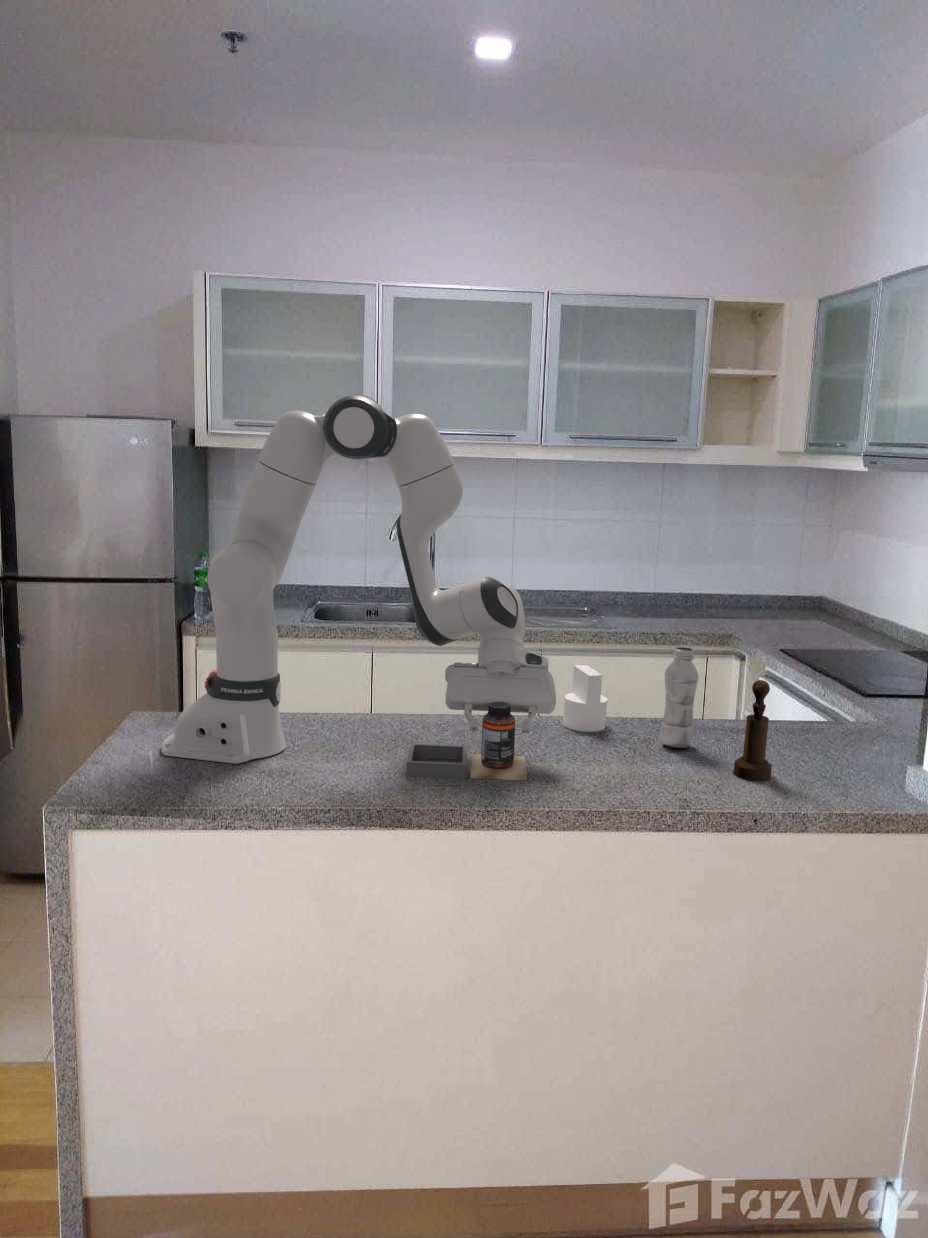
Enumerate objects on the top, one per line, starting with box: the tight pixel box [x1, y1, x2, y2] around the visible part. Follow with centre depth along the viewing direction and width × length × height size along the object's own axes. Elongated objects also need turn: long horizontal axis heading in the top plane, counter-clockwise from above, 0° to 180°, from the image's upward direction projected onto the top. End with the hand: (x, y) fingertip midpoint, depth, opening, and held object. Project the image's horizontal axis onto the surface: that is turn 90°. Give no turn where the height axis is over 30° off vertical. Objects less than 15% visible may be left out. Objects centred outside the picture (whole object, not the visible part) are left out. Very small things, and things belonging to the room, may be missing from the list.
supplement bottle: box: [480, 702, 516, 769], centre depth 172 cm, size 6×6×11 cm
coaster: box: [469, 753, 528, 781], centre depth 173 cm, size 10×10×1 cm
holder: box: [405, 742, 468, 779], centre depth 173 cm, size 11×11×2 cm
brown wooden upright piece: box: [733, 679, 773, 782], centre depth 175 cm, size 7×6×18 cm
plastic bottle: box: [659, 646, 700, 749], centre depth 189 cm, size 6×7×20 cm
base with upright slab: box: [562, 664, 608, 733], centre depth 202 cm, size 9×9×12 cm
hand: (499, 730), depth 172 cm, fingers open, 8 cm apart
